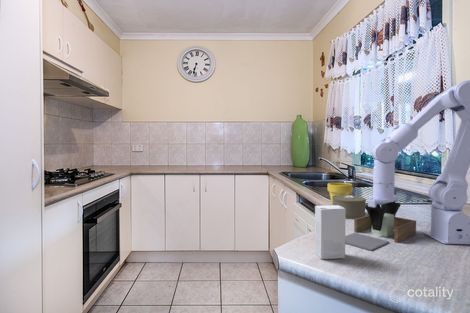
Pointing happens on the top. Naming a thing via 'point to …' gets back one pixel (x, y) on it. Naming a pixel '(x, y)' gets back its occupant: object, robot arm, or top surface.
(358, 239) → the charcoal mat
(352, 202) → the can
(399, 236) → the walnut u-shaped frame
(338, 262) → the top surface
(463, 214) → the robot arm
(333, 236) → the skincare box
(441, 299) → the top surface
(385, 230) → the sage block
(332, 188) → the plant pot
